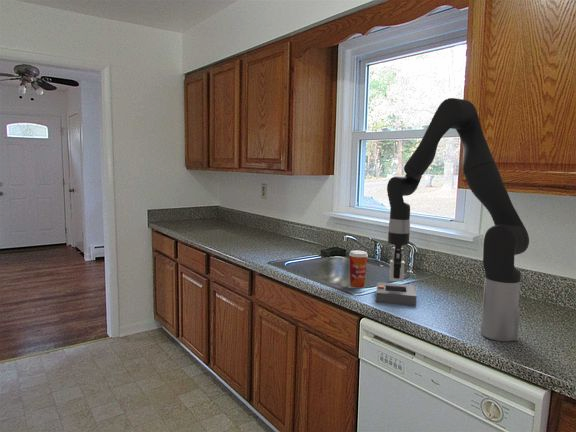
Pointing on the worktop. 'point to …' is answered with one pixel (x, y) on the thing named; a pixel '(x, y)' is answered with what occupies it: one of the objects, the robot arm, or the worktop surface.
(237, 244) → the worktop surface
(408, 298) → the socket
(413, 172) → the robot arm
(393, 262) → the plug
